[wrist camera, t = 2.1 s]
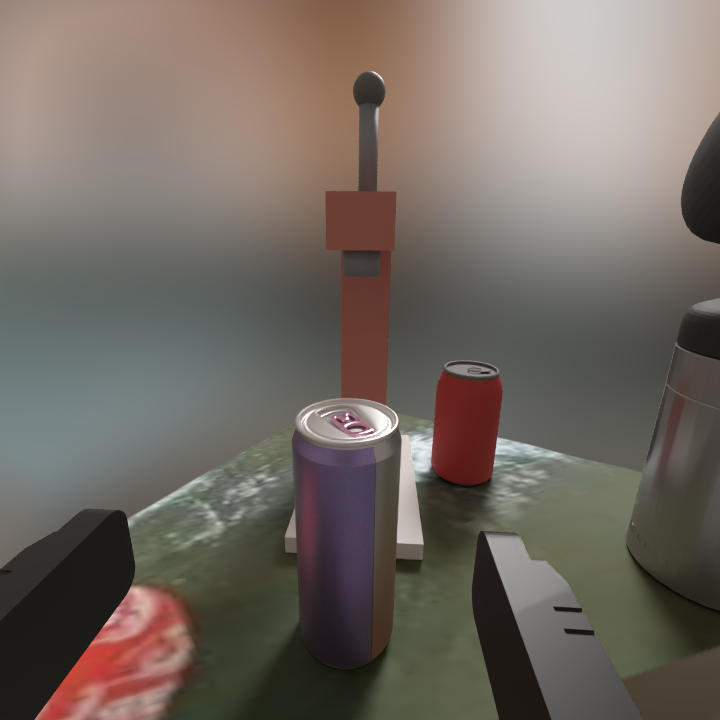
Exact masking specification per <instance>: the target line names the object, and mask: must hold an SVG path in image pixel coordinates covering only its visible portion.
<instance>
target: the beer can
mask: <svg viewBox="0 0 720 720" xmlns="http://www.w3.org/2000/svg"><path fill="white" fill-rule="evenodd" d="M443 369H444V371H443V373H442V375H441V377H440V379H439V381H438V384H437V391H436V405H435V418H434V432H433V445H432V459H431V463H432V467H433V469H434V471H435V472H436V473H437V474H438V475H439V476H440V477H442V478H443V479H444V480H446V481H449V482H451V483H454V484H459V485H468V486H472V485H478V484H481V483H483V482H485V481H487V480H488V479H489V478H490V477H491V476H492V473H493V465H494V457H495V449H496V441H497V432H498V425H499V417H500V410H501V402H502V393H503V391H502V384H501V380H500V377H499V374H500V371H499V370H498V369H497V368H496V367H495V366H493V365H490V364H487V363H483V362H478V361H465V360H464V361H463V360H460V361H452V362H449V363H446V364H445V365H444V367H443Z"/></svg>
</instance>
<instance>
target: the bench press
mask: <svg viewBox="0 0 720 720" xmlns="http://www.w3.org/2000/svg"><path fill="white" fill-rule="evenodd" d="M353 95H354V99H355V101H356V103H357V104H358V106H359V191H326V250H341V381H342V382H341V390H342V391H341V393H342V394H341V398H355V399H364V400H370V401H374V402H377V403H380V404H383V405H385V406H386V389H387V360H388V330H389V299H390V270H391V251H394V239H395V213H396V192H377V157H378V112H379V106H380V105H381V104H382V102H383V100H384V97H385V84H384V81H383V80H382V78H381V77H380V76H379V75H378V74H377V73H375V72H372V71H367V72H364V73H362V74H361V75H359V76H358V78H357V79H356V81H355V83H354V87H353ZM401 438H402V444H401V465H400V486H399V507H398V528H397V548H396V559H415V560H423V546H424V543H423V536H422V529H421V521H420V514H419V506H418V499H417V491H416V484H415V477H414V469H413V462H412V454H411V447H410V439H409V435H401ZM285 552H286V553H297V545H296V522H295V508H294V511H293V514H292V517H291V520H290V523H289V526H288V529H287V532H286V535H285Z"/></svg>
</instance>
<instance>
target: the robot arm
mask: <svg viewBox="0 0 720 720" xmlns="http://www.w3.org/2000/svg"><path fill="white" fill-rule="evenodd" d="M681 208H682V215H683V218H684V220H685V223H686V225H687V227H688V228H689V229H690V231H691V232H692V233H693V234H695V235H696V236H698V237H699V238H701V239H703V240H705V241H709V242H714V243H718V244H720V112H719V114H718V115H717V117H716V118H715V120H714V121H713V123H712V124H711V126H710V127H709V129H708V130H707V132H706V134H705V136H704V137H703V139H702V141H701V143H700V145H699V147H698V149H697V150H696V152H695V155H694V157H693V159H692V161H691V163H690V166H689V169H688V172H687V174H686V177H685V181H684V184H683V189H682V196H681ZM626 542H627V545H628V548H629V551H630V552H631V554H632V555H633V557H634V558H635V560H636V561H637V562H638V563H639V564H640V565H641V566H642V567H643V568H644V569H645V570H646V571H647V572H648V573H650V574H651V575H652V576H653V577H654V578H656V579H657V580H658V581H660V582H661V583H663V584H664V585H666V586H667V587H669V588H670V589H671V590H673V591H675V592H677V593H679V594H681V595H682V596H684V597H686V598H688V599H690V600H692V601H695V602H697V603H699V604H701V605H704V606H706V607H709V608H712V609H715V610H718V611H720V298H719V299H714V300H709V301H704V302H701V303H698V304H696V305H694V306H692V307H690V308H689V309H688V310H687V311H686V313H685V315H684V316H683V319H682V322H681V325H680V329H679V333H678V337H677V342H676V346H675V349H674V353H673V358H672V361H671V365H670V369H669V373H668V377H667V381H666V385H665V389H664V393H663V397H662V400H661V404H660V408H659V412H658V416H657V420H656V424H655V428H654V431H653V435H652V439H651V443H650V447H649V451H648V454H647V458H646V462H645V466H644V470H643V474H642V477H641V481H640V485H639V489H638V493H637V497H636V500H635V504H634V508H633V512H632V516H631V520H630V524H629V528H628V531H627V535H626ZM134 574H135V561H134V555H133V550H132V544H131V538H130V533H129V527H128V522H127V517H126V515H125V513H124V512H122V511H120V510H104V509H85V510H82V511H81V512H79V513H78V514H77V515H76V516H75V517H73V518H72V519H71V520H70V521H69V522H68V523H66V524H65V525H64V526H63V527H62V528H61V529H60V530H58V531H57V532H53V533H52V534H50V535H48V536H46V537H45V538H43V539H41V540H39V541H38V542H36V543H34V544H32V545H31V546H29V547H27V548H25V549H24V550H23V551H22V552H20V553H19V554H18V555H17V556H16V557H14V558H13V559H12V560H11V561H10V562H9V563H7V564H6V565H5V566H4V567H3V568H1V569H0V720H34V719H35V718H36V717H37V715H38V714H39V713H40V711H41V710H42V709H43V707H44V706H45V705H46V703H47V702H48V700H49V699H50V698H51V696H52V695H53V694H54V692H55V691H56V690H57V688H58V687H59V686H60V684H61V683H62V682H63V680H64V679H65V677H66V676H67V675H68V673H69V672H70V671H71V669H72V668H73V667H74V665H75V664H76V663H77V661H78V660H79V659H80V657H81V656H82V654H83V653H84V652H85V650H86V649H87V648H88V646H89V645H90V644H91V642H92V641H93V640H94V638H95V637H96V636H97V634H98V633H99V631H100V630H101V629H102V627H103V626H104V625H105V623H106V622H107V621H108V619H109V618H110V617H111V615H112V614H113V612H114V611H115V610H116V608H117V607H118V606H119V604H120V603H121V602H122V600H123V599H124V598H125V596H126V595H127V593H128V591H129V589H130V587H131V584H132V582H133V578H134ZM472 605H473V613H474V619H475V623H476V627H477V631H478V635H479V639H480V643H481V647H482V651H483V656H484V660H485V664H486V668H487V672H488V676H489V680H490V684H491V688H492V692H493V696H494V700H495V704H496V708H497V712H498V716H499V720H643V718H642V717H641V715H640V713H639V711H638V710H637V708H636V706H635V704H634V702H633V701H632V699H631V697H630V695H629V693H628V691H627V689H626V688H625V686H624V684H623V682H622V680H621V679H620V677H619V675H618V673H617V671H616V670H615V668H614V666H613V664H612V662H611V660H610V659H609V657H608V655H607V653H606V651H605V650H604V648H603V646H602V644H601V642H600V641H599V639H598V637H597V636H595V635H594V630H593V628H592V626H591V624H590V622H589V621H588V619H587V617H586V615H585V613H582V608H581V606H580V604H579V603H578V601H577V599H576V597H575V595H574V593H573V592H572V590H571V588H570V586H569V584H568V583H567V582H566V581H565V580H564V579H563V578H562V577H561V576H560V575H559V574H558V573H557V572H556V571H555V570H554V569H553V568H552V567H551V566H550V565H549V564H548V563H547V562H546V561H536V560H531V559H530V557H529V555H528V553H527V551H526V549H525V547H524V545H523V542H522V540H521V538H520V537H519V535H518V534H517V533H510V532H491V531H481V532H480V533H479V536H478V543H477V551H476V559H475V567H474V575H473V583H472Z"/></svg>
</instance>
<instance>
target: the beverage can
mask: <svg viewBox="0 0 720 720" xmlns="http://www.w3.org/2000/svg"><path fill="white" fill-rule="evenodd" d="M398 427H399V419H398V416H397V415H396V413H395V412H394V411H393V410H392V409H390V408H389V407H387V406H385V405H383V404H380V403H377V402H374V401H370V400H364V399H355V398H339V399H331V400H325V401H321V402H317V403H315V404H312V405H310V406H308V407H306V408H304V409H303V410H301V411H300V412H299V413H298V415H297V416H296V419H295V431H294V434H293V437H292V454H293V476H294V499H295V522H296V545H297V568H298V590H299V613H300V631H301V636H302V639H303V641H304V643H305V645H306V647H307V648H308V650H309V651H310V652H311V653H312V654H313V655H314V656H315V657H316V658H317V659H318V660H320V661H321V662H323V663H324V664H326V665H328V666H331V667H334V668H338V669H353V668H357V667H360V666H363V665H365V664H367V663H369V662H370V661H372V660H373V659H374V658H376V657H377V656H378V655H379V654H380V653H381V652H382V651H383V649H384V648H385V647H386V645H387V643H388V642H389V639H390V637H391V633H392V628H393V611H394V590H395V569H396V548H397V528H398V507H399V486H400V465H401V444H402V438H401V434H400V431H399V428H398Z"/></svg>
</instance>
